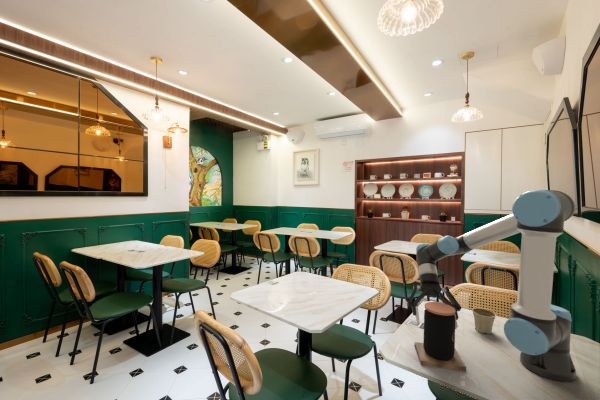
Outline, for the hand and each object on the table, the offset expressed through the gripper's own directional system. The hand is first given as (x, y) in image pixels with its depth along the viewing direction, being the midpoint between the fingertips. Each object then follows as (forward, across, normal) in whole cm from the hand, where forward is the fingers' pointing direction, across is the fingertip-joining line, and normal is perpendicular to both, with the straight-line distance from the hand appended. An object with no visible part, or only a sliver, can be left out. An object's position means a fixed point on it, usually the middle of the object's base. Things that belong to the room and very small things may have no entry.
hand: (436, 325), depth 107 cm
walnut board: (+9, 0, -7) cm, 11 cm away
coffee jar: (+8, 0, -6) cm, 10 cm away
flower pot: (-10, -27, -26) cm, 39 cm away
